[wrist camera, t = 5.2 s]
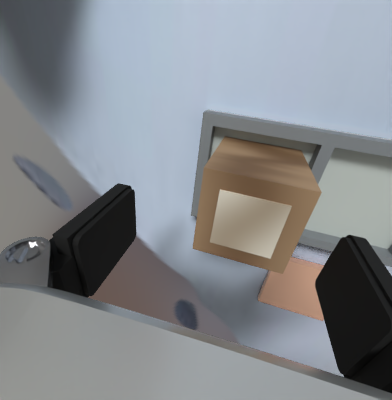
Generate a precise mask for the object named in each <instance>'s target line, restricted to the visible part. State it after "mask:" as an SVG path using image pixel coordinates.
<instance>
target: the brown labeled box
mask: <svg viewBox="0 0 392 400" xmlns="http://www.w3.org/2000/svg"><path fill="white" fill-rule="evenodd" d="M321 193H322V192H321V190H320V188H319V186H318V184H317V182H316V180H315V177H314V175H313V173H312V171H311V169H310V167H309V165H308V163H307V161H306V159H305V157H304V155H303V153H302V151H301V150H297V149H292V148H287V147H281V146H276V145H270V144H265V143H259V142H254V141H248V140H243V139H238V138H232V137H227V136H225V137H224V138H223V140H222V141H221V143H220V144H219V146H218V147H217V149H216V150H215V152H214V153H213V155H212V156H211V158H210V159H209V161H208V162H207V164H206V165H205V167H204V170H203V177H202V185H201V192H200V199H199V206H198V213H197V221H196V228H195V235H194V242H193V249H196V250H199V251H203V252H206V253H210V254H213V255H217V256H220V257H224V258H228V259H231V260H235V261H238V262H242V263H245V264H249V265H252V266H256V267H259V268H263V269H266V270H270V271H273V272H277V273H281V274H283V273H284V270H285V268H286V266H287V264H288V262H289V260H290V258H291V256H292V254H293V252H294V250H295V247H296V245H297V243H298V241H299V239H300V237H301V235H302V233H303V231H304V229H305V227H306V224H307V222H308V220H309V218H310V216H311V214H312V212H313V210H314V208H315V206H316V204H317V201H318V199H319V197H320V195H321Z"/></svg>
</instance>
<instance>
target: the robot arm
mask: <svg viewBox="0 0 392 400" xmlns="http://www.w3.org/2000/svg"><path fill="white" fill-rule="evenodd" d="M135 237H136V214H135V192H134V190H132V188H131V186H128V185H123V184H117V185H115V186H114V187H113V188H111V189H110V190H109V191H108V192H106V193H105V194H104V195H102V196H101V197H100V198H99V199H97V200H96V201H95V202H94V203H92V204H91V205H90V206H88V207H87V208H86V209H85V210H83V211H82V212H81V213H80V214H78V215H77V216H76V217H74V218H73V219H72V220H70V221H69V222H68V223H67V224H66V225H64V226H63V227H62V228H60V229H59V230H58V231H56V232H55V233H54V234H53V238H52V239H50V240H49V241H48V240H47V239H45V238H42V237H29V238H25V239H21V240H19V241H17V242H14V243H12V244H11V245H9V246H7V247H6V248H5V249H4V250H3V251H2V252H1V254H0V400H392V276H391V274H390V273H389V271H388V270H387V269H386V267H385V266H384V264H383V263H382V261H381V260H380V258H379V257H378V255H377V254H376V252H375V251H374V249H373V248H372V246H371V245H370V243H369V242H368V241H367V239H366V238H362V237H358V236H353V235H347V236H346V237H342V238H341V239H340V240H339V242H338V244H337V245H336V247H335V249H334V250H333V252H332V254H331V255H330V257H329V258H328V260H327V262H326V263H325V265H324V267H323V268H322V270H321V272H320V273H319V275H318V277H317V278H316V281H315V288H316V292H317V295H318V299H319V302H320V306H321V310H322V313H323V317H324V320H325V324H326V327H327V331H328V334H329V338H330V341H331V345H332V349H333V352H334V356H335V359H336V363H337V366H338V369H339V371H340V373H341V374H344V377H341V376H338V375H335V374H332V373H329V372H326V371H322V370H319V369H316V368H313V367H310V366H307V365H303V364H300V363H297V362H294V361H291V360H288V359H285V358H281V357H278V356H275V355H272V354H269V353H266V352H263V351H259V350H256V349H253V348H250V347H247V346H243V345H240V344H237V343H234V342H231V341H227V340H224V339H221V338H218V337H214V336H211V335H208V334H205V333H202V332H198V331H195V330H192V329H189V328H186V327H182V326H179V325H176V324H173V323H169V322H166V321H163V320H160V319H156V318H153V317H150V316H147V315H143V314H140V313H137V312H134V311H130V310H127V309H124V308H120V307H117V306H114V305H110V304H107V303H104V302H101V301H97V300H93V299H90V298H88V297H89V296H92V295H94V293H95V292H96V291H97V290H98V288H99V287H100V285H101V284H102V283H103V281H104V280H105V279H106V277H107V276H108V275H109V273H110V272H111V270H112V269H113V268H114V266H115V265H116V264H117V262H118V261H119V260H120V258H121V257H122V256H123V254H124V253H125V252H126V250H127V249H128V247H129V246H130V245H131V244H132V242H133V241H134V239H135Z"/></svg>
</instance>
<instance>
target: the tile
mask: <svg viewBox="0 0 392 400" xmlns="http://www.w3.org/2000/svg"><path fill="white" fill-rule="evenodd" d="M323 267H324V265H320V264H316V263H313V262H309V261H305V260H301V259H298V258H294V257H291V258H290V260H289V262H288V264H287V266H286V268H285V270H284V273H283V274H281V273H277V272H273V271H270V270H269V271H268V273H267V276H266V278H265V280H264V283H263V285H262V287H261V290H260V292H259V295H258V301H260V302H263V303H266V304H270V305H273V306H276V307H279V308H282V309H286V310H289V311H292V312H295V313H299V314H302V315H305V316H308V317H312V318H315V319H318V320H321V321H323V320H324V317H323V313H322V310H321V306H320V302H319V299H318V295H317V292H316V288H315V281H316V278H317V277H318V275H319V273H320V272H321V270H322V268H323Z"/></svg>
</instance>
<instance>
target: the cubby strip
mask: <svg viewBox="0 0 392 400" xmlns="http://www.w3.org/2000/svg"><path fill="white" fill-rule="evenodd" d="M225 136H227V137H232V138H238V139H243V140H248V141H254V142H259V143H265V144H270V145H276V146H281V147H287V148H292V149H297V150H301V151H302V153H303V155H304V157H305V159H306V161H307V163H308V165H309V167H310V169H311V171H312V173H313V175H314V177H315V180H316V182H317V184H318V186H319V188H320V190H321V192H322V193H321V195H320V197H319V199H318V201H317V204H316V206H315V208H314V210H313V212H312V214H311V216H310V218H309V220H308V222H307V224H306V227H305V229H304V231H303V233H302V235H301V237H300V239H299V241H298V243H300V244H304V245H308V246H312V247H316V248H320V249H324V250H328V251H332V252H333V250H334V249H335V247H336V245H337V244H338V242H339V240H340V239H341V238H342V237H346V236H347V235H353V236H358V237H362V238H366V239H367V241H368V242H369V243H370V245H371V246H372V248H373V249H374V251H375V252H376V254H377V255H378V257H379V258H380V260H381V261H382V263H383V264H384V265H386V266H390V267H392V140H391V139H385V138H379V137H373V136H366V135H360V134H354V133H348V132H342V131H336V130H330V129H324V128H318V127H312V126H305V125H299V124H293V123H287V122H281V121H275V120H269V119H263V118H257V117H251V116H245V115H238V114H232V113H226V112H220V111H214V110H207V111H205V112H203V121H202V129H201V137H200V145H199V154H198V162H197V170H196V178H195V187H194V195H193V203H192V212H191V216H195V217H197V213H198V206H199V199H200V192H201V185H202V177H203V170H204V167H205V165H206V164H207V162H208V161H209V159H210V158H211V156H212V155H213V153H214V152H215V150H216V149H217V147H218V146H219V144H220V143H221V141H222V140H223V138H224V137H225Z"/></svg>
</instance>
